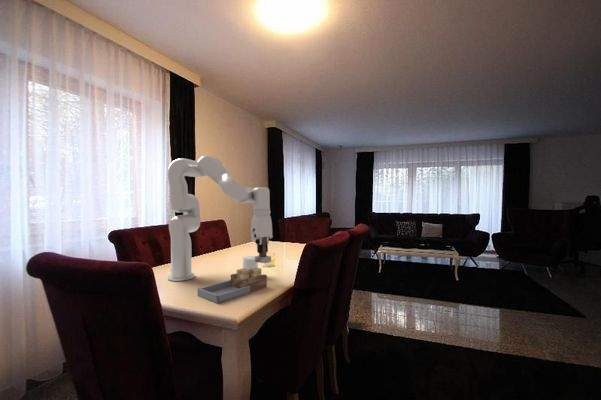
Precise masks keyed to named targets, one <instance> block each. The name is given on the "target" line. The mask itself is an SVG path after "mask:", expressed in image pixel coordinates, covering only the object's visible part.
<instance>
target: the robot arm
mask: <svg viewBox="0 0 601 400" xmlns="http://www.w3.org/2000/svg"><path fill="white" fill-rule="evenodd" d="M206 176H207V177H209V178H210V179H211V180H212V181H213V182H215V183H216V184H217V185H218V186H219V188H220V189H221V191H222V192H223V193H224V194H226V196H228V197H229V198H230V199H232V200H233V201H235V202H237V203H238V204H251V203H253V216H252V219H251V222H250V223H251V224H250V240H251V241H252V242H254V243H255V244H256V250H257V253H258V254H259V253H263V245H262V238H264V237H266V253H269V249H268V248H269V245H268V244H270V241H271V239H272V238H273V237H274V236H273V222H272V216H271V207H270V204H271V203H270V202H271V201H270V189H269V187H266V186H264V187H263V186H261V187H259V186H257V187H249V186H242V184H240V183H238V182H237V181H236V180H234V178H233V177H232V172H231V171H230V169H229V168H227V167H225V166H224V164H223V162H222V161H221V160H220V159H219V158H217V157H214V156H211V155H203V156H201V157H200V158H199V159H198V160H194V159H193V160H192V159H189V158H183V157H182V158H177V159H175V160H172V162H171V163H170V164H169V166H168V168H167V181H168V187H169V190H168V191H169V202H170V203H169V204H170V208H171V210H172V211H173V212H174V213H182V214H180V215H175V216H173V217H172V218H171V219H170V220H169V223H168V231H169V235H170V270H169V271H170V274H169V275H168V276H167V280H168V281H171V282H182V281H187V280H192V279H194V278H195V276H196V274H195V273H194V272H192V268H193V267H192V239H191V236H190V233H194V232H196V231H198V229H199V228H200V227H201V211H200V210H201V209H200V202H199V199H198V197H196V195H194V194H192V193H189V189H188V183H187V180H186V178H185V177H190V178H191V177H193V178H199V177H200V178H201V177H206Z"/></svg>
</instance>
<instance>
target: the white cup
mask: <svg viewBox="0 0 601 400" xmlns="http://www.w3.org/2000/svg"><path fill="white" fill-rule="evenodd" d="M255 256H256V255H249V256H243V257H242V268H245V269H251V268H255V267H256V268H259V267H258V266H259V262H255Z"/></svg>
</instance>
